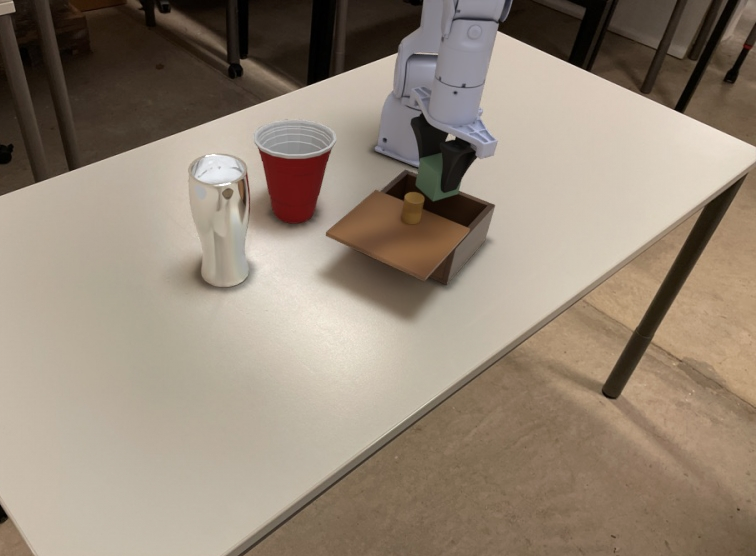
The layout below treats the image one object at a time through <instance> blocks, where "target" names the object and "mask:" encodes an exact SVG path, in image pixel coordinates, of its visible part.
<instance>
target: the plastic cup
mask: <svg viewBox="0 0 756 556" xmlns="http://www.w3.org/2000/svg"><path fill="white" fill-rule="evenodd" d="M336 143H337V135H336V132H335V131H334V130H333V129H332V128H330V126H327V125H325V124H323V123H320V122H318V121H313V120H307V119H281V120H275V121H271V122H268V123H266V124H264V125H261V126H260V127H258V128H257V129H256V130H255V132H254V133H253V144H254V145H255V146H256V147H257V149H258V153H259V155H260V160H261V162H262V166H263V167H262V168H263V172H264V177H265V181H266V186H267V191H268V195H269V198H270V205H271V210H272V212H273V215H274V216H275V217H276V218H277V219H278V220H280V221H281V222H283V223H288V224H301V223H305V222H307V221H309V220H310V219H312V217H313V216H314V213H315V211H316V207H317V203H318V199H319V196H320V193H321V191H322V185H323V181H324V177H325V173H326V169H327V165H328V162H329V159H330V155H331V153H332V150H333V147H334V146H335V145H336Z"/></svg>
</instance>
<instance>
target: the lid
mask: <svg viewBox="0 0 756 556" xmlns="http://www.w3.org/2000/svg"><path fill="white" fill-rule="evenodd" d="M380 191H381V190H378V189H374V190H373V192H371V193H369V195H368V196H367V197H365V198H364V199H363V200H362V201H361V202H359V203H358V204H357V205H356V206H354V207H353V208H352V209H351V210H350V211H349V212H348V213H346V214H345V215H344V216H343V217H342V218H341V219H340V220H338V221H337V222H336V223H335V224H333V226H331V227H330V228H329V229H328V230H327V231H326V232H325V237H327V238H329V239H331V240H334V241H335V242H338V243H340V244H343V245H345V246H347V247H349V248H351V249H352V250H353V249H354V250H356V251H358V252H360V253H362V254H364V255H367V256H369V257H371V258H373V259H375V260H377V261H379V262H382V263H383V264H386V265H388V266H390V267H392V268H395V269H397V270H399V271H400V272H403V273H406V274H407V275H410V276H412V277H414V278H416V279H418V280H421V281H423V282H426V281H427V279H428V278H430V277H429V276H430V275H431V274H432V272H433V271H434V270H435V269H436V268H437V267H438V266H439V265H440V264H441V263H442V261H443V260H444V259H445V258H446V257H447V256H448V255H449V254H450V253H451V252H452V251H453V249H454V248H455V247H456V246H457V245H458V244H459V243H460V242H461V241H462V240H463V238H464V237H465V236H466V235H467V234H468V233H469V231H470V228H467V227H465V226H462V225H460V224H458V223H455V222H453V221H450V220H448V219H446V218H443V217H441V216H438V215H436V214H434V213H431V212H429V211H426V210H424V209H423V204H424V196H423V195H421V194H420V193H416V192H410V193H407V194H406V195H405V198H404V201H402V200H400V199H397V198H395V197H393V196H390V195H388V194H385V193H383V192H380Z"/></svg>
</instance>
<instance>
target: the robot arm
mask: <svg viewBox="0 0 756 556" xmlns="http://www.w3.org/2000/svg"><path fill="white" fill-rule="evenodd" d="M512 4H513V0H423V2H422V10H421V19H420V26H419V27H418V28H417V29H416V30H414V31H413V32H411V33H410V34H408V35H407V36H405V37H404V38H403V39H402V40H401V41H400V44H399V45H398V47H397V55H396V57H395V58H396V59H395V64H394V70H393V71H394V72H393V84H392V86H393V87H392V88H393V89H392V90H391V91H390V93H389V94H388V95H387V97H386V98H385V100H384V103H383V106H382V109H381V114H380V122H379V129H378V130H379V131H378V136H377V143H376V144H377V145H376V146H374V151H375V152H377V153H380V154H382V155H384V156H388V157H390V158H393V159H395V160H398V161H400V162H402V163H406V164H408V165H410V166H413V167H416V168H419V163H420V158H423V157H427V156H431V155H435V154H439V153H442V162H443V167H442V176H441V191H442V192H443V193H446V192H450V191H453V190H456V189H457V187H458V185H459V183H460V182H461V183H462V180H463V178H464V176H465V174H466V173H467V171H468V170H469V168H470V167H471V166H472V164H473V163H474V162H475V161H476V160H477V159H479V160H483V159H488V158H490V157H493V156H495V154H496V149H497V146H498V142H499V141H498V139H497V138H496V137H494V136H493V135H492V134H491V132H490V131H489V129H488V128H487V126H486V124H485V123H484V121H483V119H482V118H481V117H482V116H483V113H484V109H483V108H482V107H480V105H481V101H482V98H483V93H484V89H485V85H486V80H487V76H488V72H489V68H490V64H491V59H492V54H493V50H494V47H495V43H496V38H497V34H498V29H499V25H500V23H499V21H500V22H502V23H504V21H506V19H507V18H508V15H509V13H510V11H511V7H512ZM449 135H451V136H454V139H449V140H447V139H448V137H449Z"/></svg>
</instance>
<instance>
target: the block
mask: <svg viewBox="0 0 756 556" xmlns="http://www.w3.org/2000/svg"><path fill="white" fill-rule="evenodd" d="M442 167H443V162H442V153H439V154H435V155H431V156H427V157H423V158H420V163H419V168H418V167H417V168H418V169H417V173H416V174H417V179H416V186H417V187H418V188H419V189H420V190H421V191H422V192H423V193H424V194H425V195H426V196H428V197H429V198H430V199H431V200H432V201H436V200H439V199H443V198H446V197H450V196H453V195H457V194H458V193H459V191H460V188H461V184H462V181H461V182H460V183H459V185H458V187H457V189H456V190H453V191H450V192H446V193H443V192H442V191H441V176H442Z"/></svg>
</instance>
